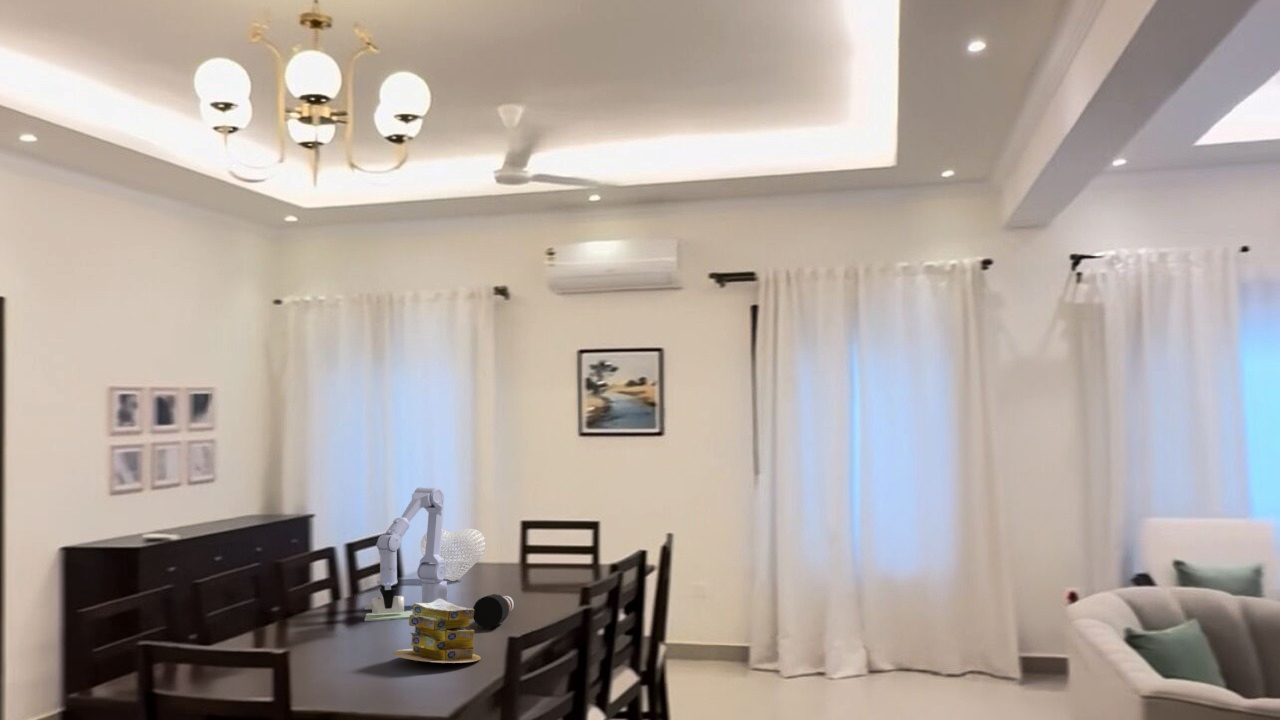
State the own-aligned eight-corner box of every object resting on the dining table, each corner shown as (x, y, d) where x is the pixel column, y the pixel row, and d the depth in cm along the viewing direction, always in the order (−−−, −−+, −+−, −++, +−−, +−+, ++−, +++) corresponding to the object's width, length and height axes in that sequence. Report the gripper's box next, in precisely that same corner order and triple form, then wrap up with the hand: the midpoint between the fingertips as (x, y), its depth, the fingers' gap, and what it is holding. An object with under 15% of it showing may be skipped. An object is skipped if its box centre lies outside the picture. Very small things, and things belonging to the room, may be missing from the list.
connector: (404, 609, 346) (404, 595, 347) (403, 612, 343) (403, 597, 343) (365, 612, 344) (365, 598, 344) (364, 614, 340) (364, 600, 340)
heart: (490, 577, 422) (489, 526, 423) (480, 584, 406) (479, 530, 408) (427, 577, 425) (427, 526, 426) (415, 584, 409) (415, 531, 411)
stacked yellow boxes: (452, 647, 297) (452, 592, 298) (497, 661, 278) (496, 602, 279) (377, 662, 280) (377, 603, 281) (419, 678, 262) (419, 615, 263)
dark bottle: (514, 622, 351) (527, 596, 352) (493, 633, 318) (508, 605, 319) (489, 609, 353) (502, 583, 354) (466, 619, 319) (481, 591, 320)
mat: (412, 612, 350) (412, 611, 350) (411, 618, 340) (411, 616, 340) (366, 615, 346) (366, 613, 346) (364, 621, 337) (364, 619, 337)
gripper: (378, 566, 350) (378, 603, 350) (375, 572, 336) (376, 611, 336) (398, 564, 352) (398, 602, 351) (396, 571, 338) (396, 610, 337)
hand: (388, 607), depth 343 cm, fingers closed on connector, 4 cm apart
